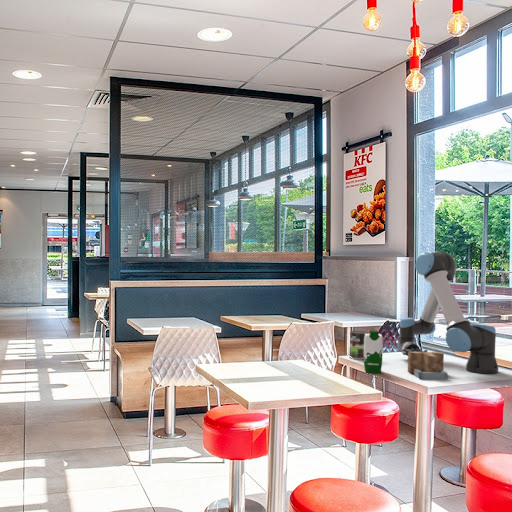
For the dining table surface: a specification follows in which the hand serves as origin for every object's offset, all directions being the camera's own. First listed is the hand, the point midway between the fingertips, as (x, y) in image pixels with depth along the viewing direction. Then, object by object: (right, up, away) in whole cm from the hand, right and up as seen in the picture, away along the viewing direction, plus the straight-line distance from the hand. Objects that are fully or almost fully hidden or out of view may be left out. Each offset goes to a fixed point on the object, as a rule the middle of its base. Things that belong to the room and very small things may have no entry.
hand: (423, 357), depth 298 cm
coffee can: (-25, -6, +36) cm, 45 cm away
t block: (0, -7, -6) cm, 9 cm away
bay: (0, -7, -11) cm, 13 cm away
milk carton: (-25, -7, -2) cm, 26 cm away
